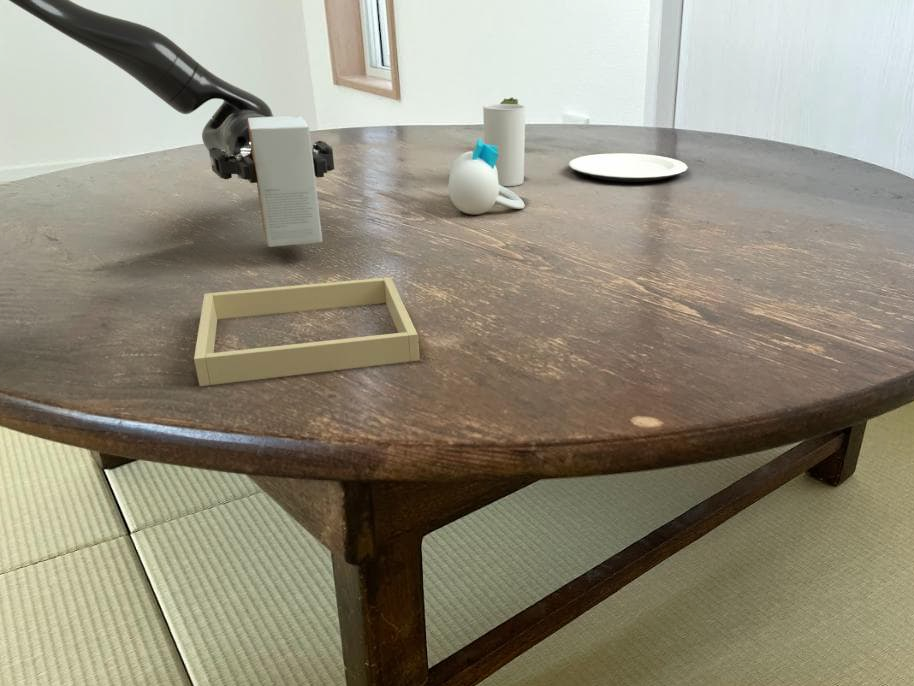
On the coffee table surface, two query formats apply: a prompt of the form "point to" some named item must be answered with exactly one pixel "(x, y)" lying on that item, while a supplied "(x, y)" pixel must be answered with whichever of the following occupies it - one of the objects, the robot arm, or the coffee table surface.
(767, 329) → the coffee table surface
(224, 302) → the rectangular frame
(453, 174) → the mug
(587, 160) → the plate
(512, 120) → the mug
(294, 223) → the small box
